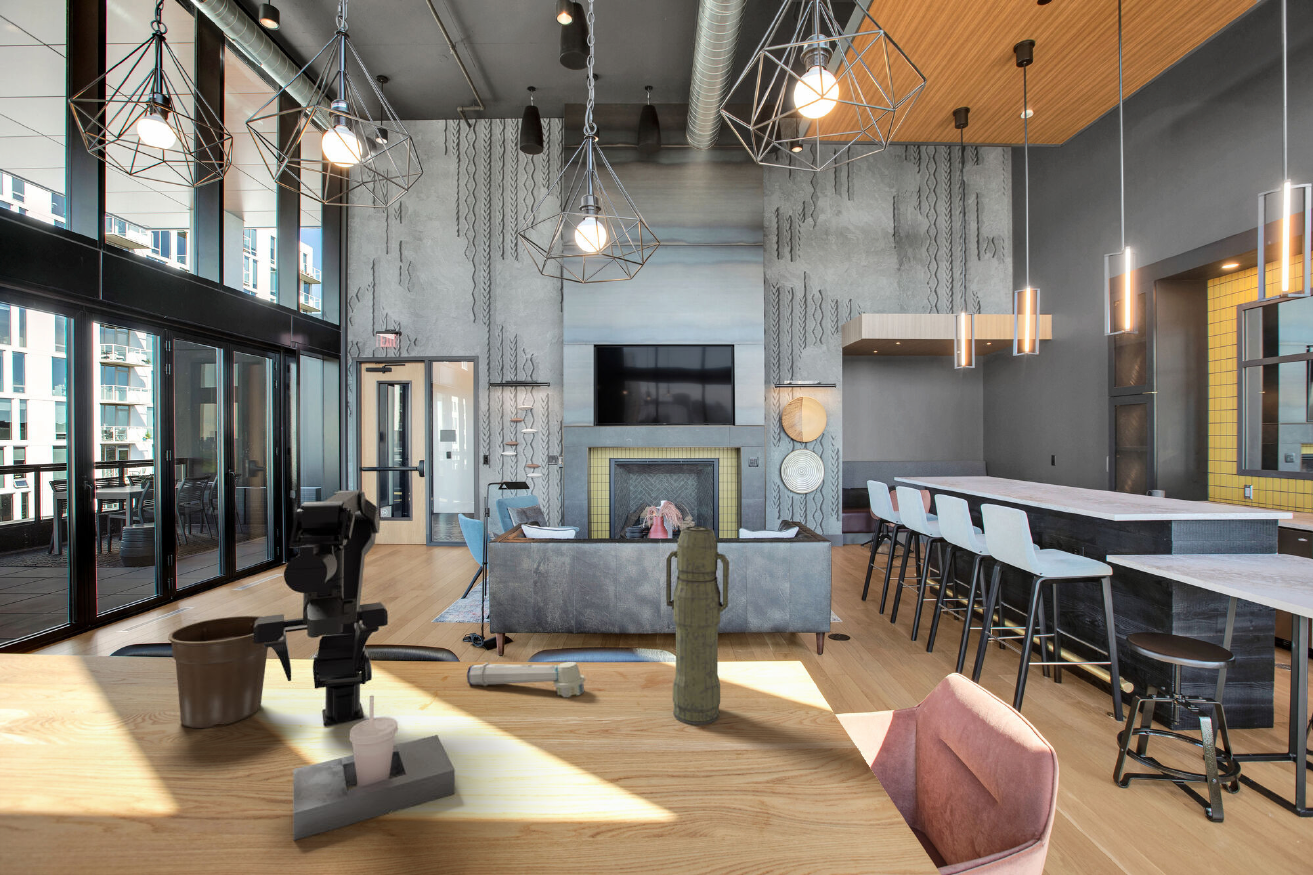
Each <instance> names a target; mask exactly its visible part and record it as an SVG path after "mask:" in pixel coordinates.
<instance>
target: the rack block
mask: <svg viewBox="0 0 1313 875" xmlns="http://www.w3.org/2000/svg"><path fill="white" fill-rule="evenodd" d="M292 773H293V774H292V775H293V776H292V777H293V778H292V786H293V787H292V798H293V799H292V804H293V805H292V811H293V813H292V814H293V815H292V816H293V818H292V820H293V822H292V823H293V827H292V829H293V834H292V836H293V837H292V839H293V841H297V840H301V839H304V838H307V837H310V836H314V835H318V834H322V833H324V832H327V831H328V832H329V831H332V830H335V829H339V828H342V827H345V826H348V825H352V824H357V823H359V822H362V821H366V820H369V819H372V818H377V817H380V816H382V815H383V814H384V815H387V814H390V813H389V812H391V811H394V812H397V811H400V810H399V809H401V810H403V809H407V807H408V808H411V807H414V806H417V805H421V804H424V803H428V802H430V801H431V802H432V801H435V800H438V799H442V798H445V797H450V796H452V795H455V777H456V776H455V773H456V770H455V767H454V765H453V764H452V761H451V759H450V757H449V756H448V754H447V751H446V750H445V748H444V745H443V744H442V742H441V740H440V737H439V735H438V734H435V735H432V736H428V737H424V738H423V737H422V738H419V739H415V740H411V741H407V742H402V743H401V742H400V743H397V744H394V746H393V753H392V761H391V768H390V775H389V777H391V776H395V775H397V776H395V777H392V778H389V779H388V780H384V781H380V782H376V783H373V784H369V785H365V786H361V787H358V784H357V776H356V768H355V760H354V754H351V755H347V756H343V757H340V758H339V757H338V758H336V759H329V760H326V761H322V762H318V763H315V764H309V765H306V766H301V767H296V768H293V769H292ZM356 785H357V787H354V788H351V789H347V788H349V787H353V786H356ZM396 810H397V811H396ZM386 813H387V814H386ZM391 813H392V812H391ZM384 815H383V816H384Z"/></svg>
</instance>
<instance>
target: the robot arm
mask: <svg viewBox="0 0 1313 875" xmlns="http://www.w3.org/2000/svg"><path fill="white" fill-rule="evenodd" d="M380 519H381V518H380V514H379V510H378V507H377V506H376V505H375V504H374V503H373V502H371V501H370V500H368V499H367V498H366V494H365V491H361V490H360V489H359V490H358V489H356V490H355V489H354V490H353V489H351V490H350V489H349V490H338V491H335V492H334V494H333V495H332V496H330V497H329V498H328V499H326V500H324V501H304V502H303V503H302V504H300V508H297V510H296V512H295V517H294V521H293V526H292V529H291V530H292V531H291V534H290V538H289V544H288V547H289V548H290V549H291V548H292V549H294V548H299V549H298V552H299V553H298V555H297V556H295V557H293V558H292V559H291V560H289V561H288V563H287V564H286V566H285V569H284V571H283V579H284V582H285V584H286V585H287V587H288V588H289V589H291V590H292V591H294V592H296V593H301V594H303V595H302V596H303V598H302V617H298V618H293V619H291V618H290V619H285V613H282V614H273V615H267V616H266V615H265V616H263V617H259V618H258V619H257V620H256V621H255V625H254V644H260V643H264V647H266V648H272V650H273V651H274V652H275V654H276V655H277V657H278V659H279V661H280V663H281V666H282V668H283V672H284V674H285V676H286V679H287V681H288V682H291V681H292V667H291V666H292V665H291V658H290V650H289V643H288V637H287V633H292V632H299V631H305V630H306V635H307V637H309V638H312V639H313V638H315V639H316V638H319V637H321V638H320V639H319V642H318V649H317V653H316V654H315V655H314V658H313V663H312V674H313V683H314V684H313V685H314V689H315V690H318V689H320V688H323V689H324V688H325V708H324V709H322V710H321V713H322V722H323V723H322V724H323V726H329V725H333V724H339V723H342V722H343V723H344V722H347V721H353V720H356V719H357V720H358V719H362V718H364V717H365V713H364V711H363V707H362V702H361V685H365V684H367V682H369V681H372V678H373V674H372V673H373V669H372V663H371V662H372V661H371V658H370V657H369V654H368V651H367V650H366V644H367V642H368V639H369V638H370V636H371V635H372V634H374V633H376V632H378V631H379V629H380V628H379V627H381V628H382V627H385V626H388V623H389V620H388V619H389V613H388V609H387V608H386V606H385V605H384V604H383V603H382V602H380V601H379V602H372V603H371V602H370V603H363V604H361V597H362V587H363V578H364V569H365V561H366V556H367V555H368V554H369V551H370V550H371V549H372V548H373V547H374V545H375V544H376V537H377V534H379V533H380V527H381V522H380V521H381V520H380Z"/></svg>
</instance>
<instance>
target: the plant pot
mask: <svg viewBox="0 0 1313 875" xmlns="http://www.w3.org/2000/svg"><path fill="white" fill-rule="evenodd" d="M259 617H264V616H262V615H237V616H236V615H235V616H226V617H219V618H212V619H205V620H202V621H201V620H200V621H197V622H194V623H190V624H187V625H185V626H182V627H178V628H176V629H175V630H173V631H171V632H170V633H169V634H168V635H167V638H168V641H169V642H170V643H171V648H172V649H171V650H172V657H173V658H172V659H174V660H175V669H176V680H177V690H178V691H177V692H178V701H179V702H178V704H179V705H178V706H179V713H180V714H179V716H180V717H179V718H180V723H181V724H182V725H183V726H185V727H189V728H193V729H206V728H207V729H208V728H212V727H214V726H215V725H219V724H222V725H224V726H227V725H230V724H233V723H236V722H239V721H242V720H244V719H246V718H247V719H248V718H249V717H251V716H252V715H254V714H256V713H257V712H258V711H259V709H260V708H261V705H262V700H263V699H262V697H263V692H264V691H263V689H264V682H265V674H266V665H267V658H268V656H267V655H268V648H269V647H268V648H266V647H264V643H260V644H254V625H255V621H256V620H257V619H258V618H259Z"/></svg>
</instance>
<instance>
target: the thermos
mask: <svg viewBox="0 0 1313 875" xmlns="http://www.w3.org/2000/svg"><path fill="white" fill-rule="evenodd" d="M676 545H677V546H676V550H672V551H671V552H670V553H669V554H668V556H667V558H666V559H665V561H666V565H665V566H666V570H665V571H666V574H665V578H666V579H665V580H666V581H665V596H666V597H665V599H666V606H667V607H671V610H673V622H674V624H675V678H674V679H673V683H672V702H673V712H672V713H673V714H672V715H673V717H674V718H675V719H676V720H677V721H679V722H680V723H683V724H685V725H686V724H687V725H693V726H703V725H704V726H705V725H710V724H713V723H715V722H716V721H718V720H719V718H720V704H721V682H720V678H719V675H718V670H719V669H718V666H719V665H718V657H719V655H718V654H719V653H718V651H719V650H718V648H719V647H718V645H719V644H718V642H719V640H718V639H719V637H718V636H719V634H718V633H719V625H720V623H721V613H722V612H723V611H725V610H726V609H727V608H728V606H729V582H730V581H729V580H730V578H729V577H730V561H729V559H728V558H727V556H726V554H723V553H719V552H718V542H717V538H716V534H715V531H714V530H713V529H711V528H710V527H707V526H695V525H693V526H685V528H683V529H681V530H680V534H679V537H678V540H677V543H676ZM673 557H674V558H675V559H676V569H677V576H676V585H675V587H674V591H673V599H672V558H673ZM718 560H720V562H721V563H722V601H721V590H720V588H719V584H718V576H717V571H718Z"/></svg>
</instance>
